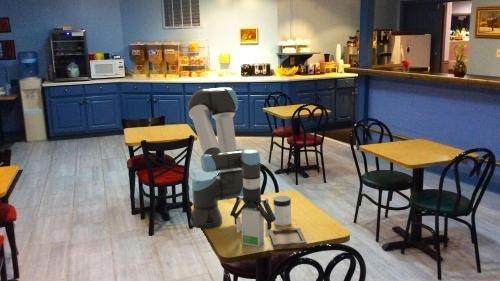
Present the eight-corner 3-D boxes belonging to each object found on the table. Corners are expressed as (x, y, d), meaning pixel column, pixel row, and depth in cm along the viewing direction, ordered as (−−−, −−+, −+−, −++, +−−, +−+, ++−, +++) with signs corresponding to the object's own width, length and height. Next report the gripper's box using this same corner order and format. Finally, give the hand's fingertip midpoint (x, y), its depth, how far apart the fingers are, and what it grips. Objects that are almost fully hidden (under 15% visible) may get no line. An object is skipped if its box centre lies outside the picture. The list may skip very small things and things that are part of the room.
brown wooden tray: (273, 249, 194) (273, 244, 194) (268, 234, 209) (268, 229, 208) (306, 246, 196) (306, 242, 195) (299, 232, 210) (299, 227, 210)
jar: (280, 227, 216) (279, 203, 213) (269, 222, 223) (269, 198, 220) (295, 222, 221) (294, 198, 218) (284, 217, 228) (284, 194, 225)
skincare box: (241, 244, 200) (240, 210, 196) (247, 238, 206) (245, 204, 202) (259, 247, 197) (258, 212, 193) (264, 240, 203) (264, 206, 199)
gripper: (221, 186, 198) (223, 232, 202) (276, 192, 187) (276, 241, 192) (229, 181, 204) (231, 226, 209) (282, 187, 194) (283, 234, 199)
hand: (253, 233), depth 200 cm, fingers open, 13 cm apart
